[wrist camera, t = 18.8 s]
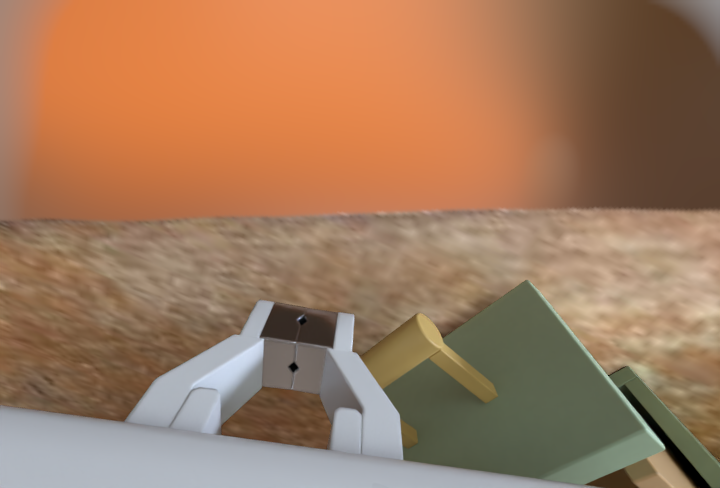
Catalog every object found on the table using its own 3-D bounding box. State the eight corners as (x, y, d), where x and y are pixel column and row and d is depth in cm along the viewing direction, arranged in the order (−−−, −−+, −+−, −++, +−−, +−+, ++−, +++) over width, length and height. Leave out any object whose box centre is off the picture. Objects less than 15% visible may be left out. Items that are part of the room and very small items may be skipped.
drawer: (292, 354, 18) (246, 517, 11) (461, 211, 14) (546, 329, 7) (497, 493, 23) (549, 659, 16) (662, 417, 19) (816, 595, 12)
